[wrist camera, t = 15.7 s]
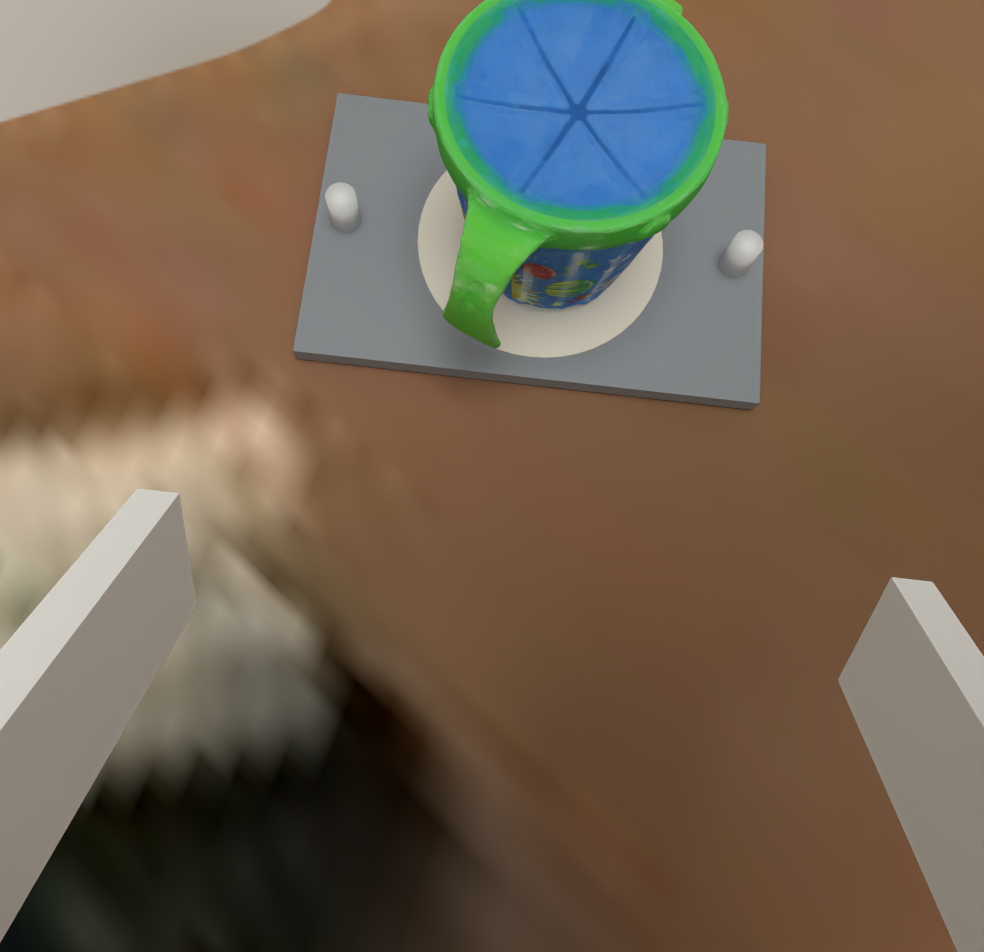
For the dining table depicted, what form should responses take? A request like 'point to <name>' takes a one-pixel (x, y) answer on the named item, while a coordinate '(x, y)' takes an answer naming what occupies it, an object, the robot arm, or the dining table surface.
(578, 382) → the locating board
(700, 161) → the snack cup
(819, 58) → the dining table surface
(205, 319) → the dining table surface
